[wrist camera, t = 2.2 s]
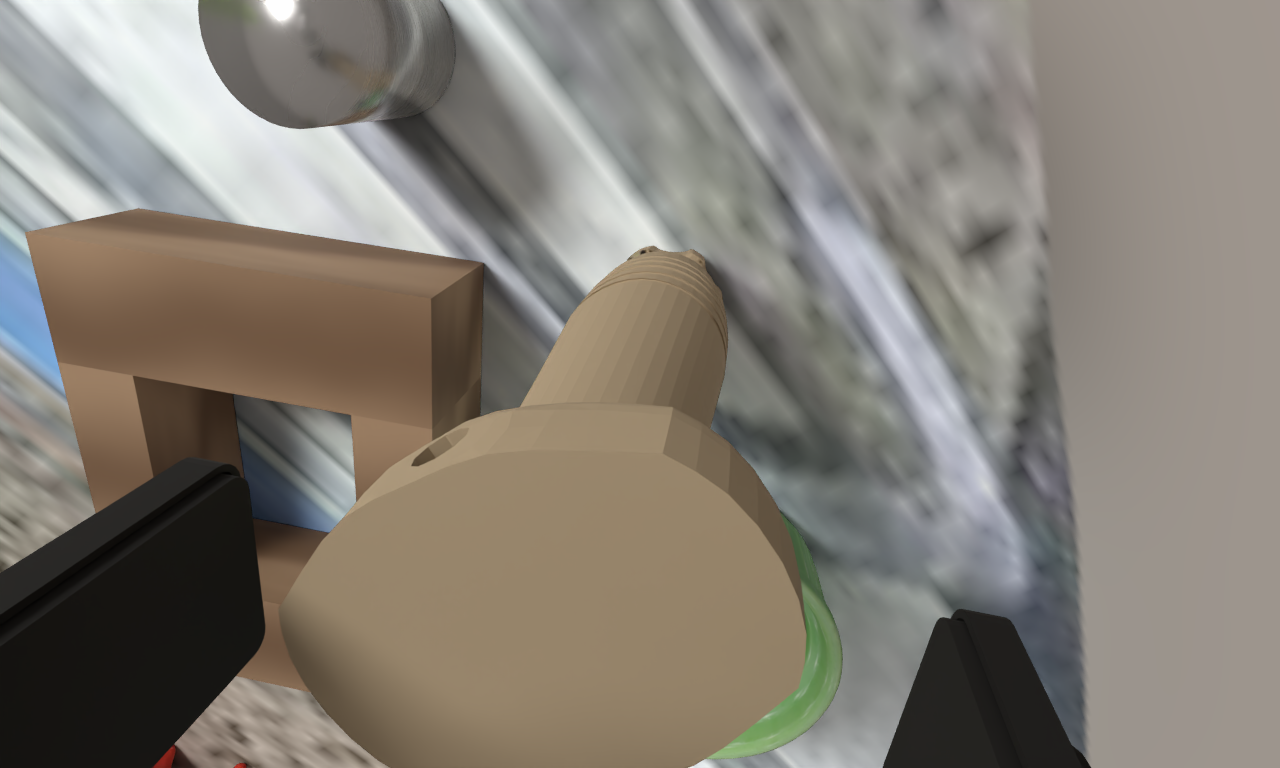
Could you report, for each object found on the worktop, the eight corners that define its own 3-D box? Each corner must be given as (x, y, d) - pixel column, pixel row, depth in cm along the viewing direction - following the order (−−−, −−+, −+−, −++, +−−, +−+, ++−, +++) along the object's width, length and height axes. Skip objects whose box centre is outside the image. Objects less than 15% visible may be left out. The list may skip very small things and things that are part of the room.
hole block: (138, 208, 23) (25, 232, 20) (483, 262, 22) (431, 298, 19) (206, 583, 30) (130, 652, 26) (475, 638, 29) (434, 719, 25)
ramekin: (863, 632, 26) (882, 732, 22) (646, 683, 29) (628, 781, 25) (776, 432, 23) (780, 505, 19) (545, 509, 26) (508, 587, 22)
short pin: (318, -45, 19) (185, -83, 15) (456, -28, 19) (363, -62, 15) (328, 108, 21) (211, 116, 17) (454, 126, 21) (371, 139, 16)
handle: (544, 268, 22) (206, 574, 8) (728, 171, 20) (673, 364, 6) (617, 395, 23) (430, 832, 10) (797, 315, 21) (871, 726, 8)
